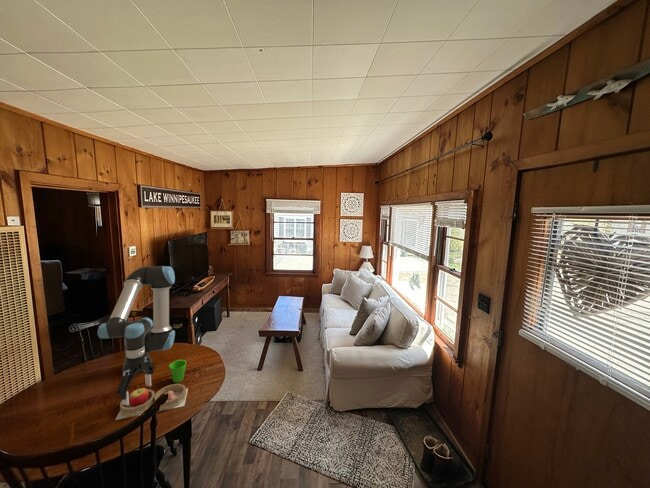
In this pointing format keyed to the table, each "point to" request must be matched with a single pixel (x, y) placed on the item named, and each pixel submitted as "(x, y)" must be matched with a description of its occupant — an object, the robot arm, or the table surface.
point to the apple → (138, 397)
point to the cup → (178, 370)
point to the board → (149, 399)
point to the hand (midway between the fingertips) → (137, 394)
